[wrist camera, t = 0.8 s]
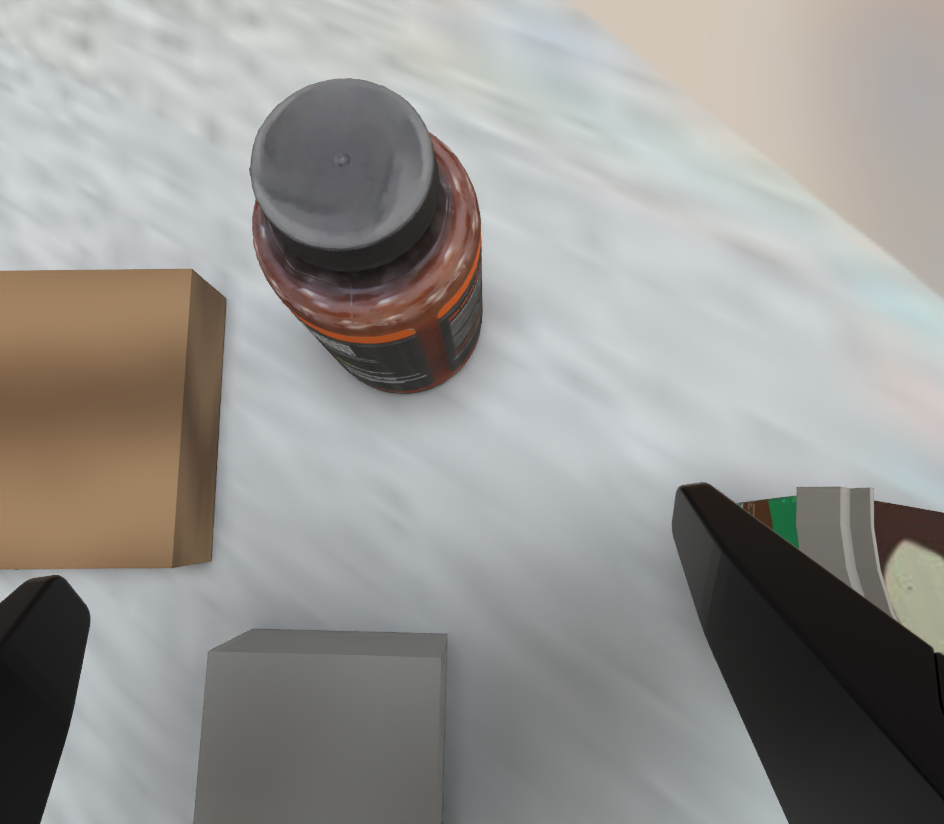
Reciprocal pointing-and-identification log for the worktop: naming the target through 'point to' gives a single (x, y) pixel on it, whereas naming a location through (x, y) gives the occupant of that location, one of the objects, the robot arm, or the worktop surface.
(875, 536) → the food container
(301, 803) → the slate block
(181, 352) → the walnut block
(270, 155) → the supplement bottle
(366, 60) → the worktop surface
